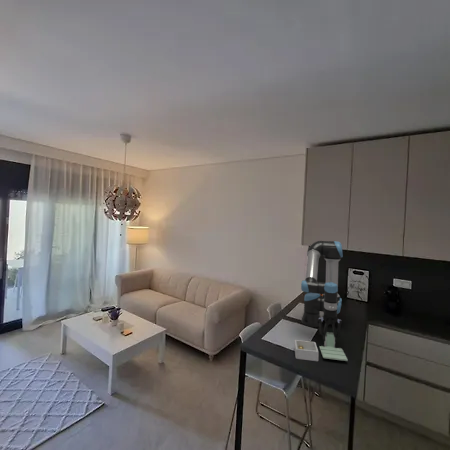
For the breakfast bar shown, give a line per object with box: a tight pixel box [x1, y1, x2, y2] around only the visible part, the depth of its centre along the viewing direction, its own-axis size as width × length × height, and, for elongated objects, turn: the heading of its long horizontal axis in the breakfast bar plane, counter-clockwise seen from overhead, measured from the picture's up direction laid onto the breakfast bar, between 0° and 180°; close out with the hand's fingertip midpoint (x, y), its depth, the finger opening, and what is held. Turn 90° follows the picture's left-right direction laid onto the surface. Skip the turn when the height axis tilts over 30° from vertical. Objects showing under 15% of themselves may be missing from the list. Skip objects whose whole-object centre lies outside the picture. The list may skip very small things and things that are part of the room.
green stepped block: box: [319, 331, 348, 362], centre depth 148 cm, size 18×13×8 cm
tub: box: [294, 339, 319, 362], centre depth 147 cm, size 12×12×6 cm
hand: (329, 346), depth 155 cm, fingers closed on green stepped block, 4 cm apart
